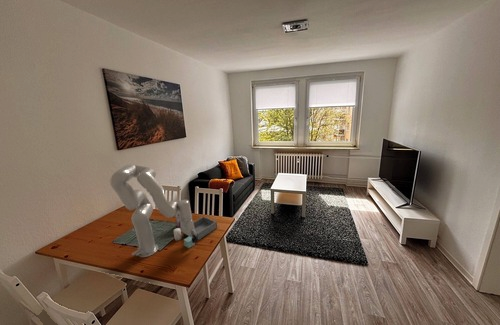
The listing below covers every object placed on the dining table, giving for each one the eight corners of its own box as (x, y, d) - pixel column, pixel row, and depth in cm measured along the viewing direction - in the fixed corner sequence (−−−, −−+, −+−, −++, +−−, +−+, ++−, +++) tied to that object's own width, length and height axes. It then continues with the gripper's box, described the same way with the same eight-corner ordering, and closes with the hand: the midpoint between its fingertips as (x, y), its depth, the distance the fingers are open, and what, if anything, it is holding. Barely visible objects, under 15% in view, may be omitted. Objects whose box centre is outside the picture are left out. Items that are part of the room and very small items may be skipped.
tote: (197, 241, 142) (196, 234, 141) (184, 234, 151) (183, 227, 150) (217, 228, 157) (216, 221, 156) (204, 222, 166) (203, 216, 165)
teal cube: (189, 248, 135) (188, 242, 134) (184, 245, 138) (183, 239, 137) (194, 244, 139) (194, 238, 138) (190, 242, 142) (189, 236, 141)
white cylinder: (177, 241, 144) (175, 232, 142) (173, 238, 146) (172, 230, 145) (183, 237, 147) (181, 229, 146) (179, 235, 150) (178, 227, 149)
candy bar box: (176, 227, 162) (173, 209, 157) (179, 223, 166) (176, 206, 162) (189, 227, 160) (187, 209, 156) (192, 223, 165) (189, 206, 161)
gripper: (174, 217, 135) (178, 238, 140) (189, 224, 125) (193, 246, 130) (183, 212, 141) (187, 232, 146) (198, 218, 131) (202, 240, 135)
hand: (190, 239), depth 138 cm, fingers open, 9 cm apart
